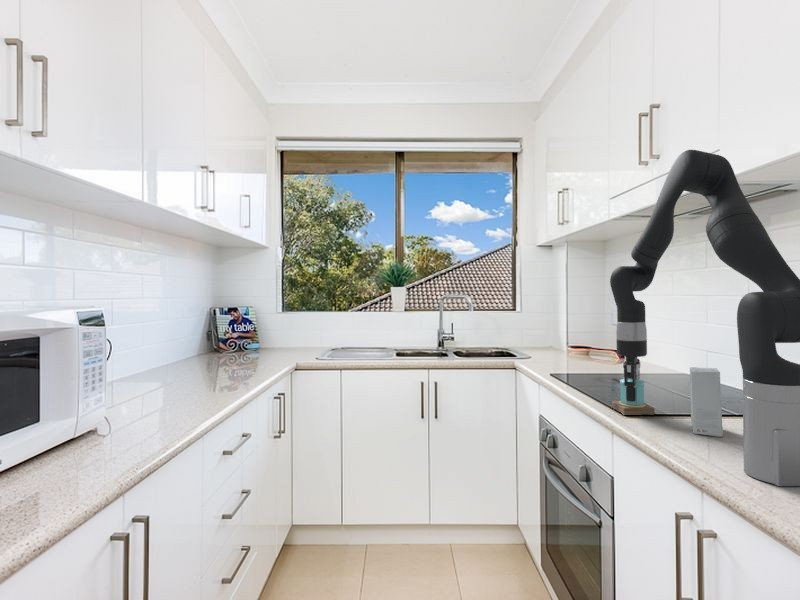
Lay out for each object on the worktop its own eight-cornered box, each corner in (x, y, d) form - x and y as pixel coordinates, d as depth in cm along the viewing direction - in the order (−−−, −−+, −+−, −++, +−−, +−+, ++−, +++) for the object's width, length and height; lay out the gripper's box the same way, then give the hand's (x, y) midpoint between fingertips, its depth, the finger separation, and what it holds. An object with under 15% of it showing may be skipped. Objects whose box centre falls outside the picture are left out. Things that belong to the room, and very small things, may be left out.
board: (654, 415, 124) (654, 393, 124) (624, 415, 124) (623, 393, 124) (640, 408, 132) (640, 387, 132) (611, 408, 132) (611, 387, 132)
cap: (632, 399, 132) (632, 378, 132) (649, 403, 126) (649, 381, 126) (615, 400, 130) (615, 379, 130) (631, 405, 125) (631, 383, 124)
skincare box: (723, 437, 105) (722, 372, 105) (691, 434, 108) (691, 370, 108) (719, 428, 112) (718, 366, 112) (689, 425, 115) (689, 365, 115)
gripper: (644, 341, 120) (645, 405, 120) (648, 336, 132) (649, 394, 132) (612, 340, 124) (613, 402, 124) (620, 335, 136) (620, 392, 136)
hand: (632, 398), depth 128 cm, fingers closed on cap, 6 cm apart
